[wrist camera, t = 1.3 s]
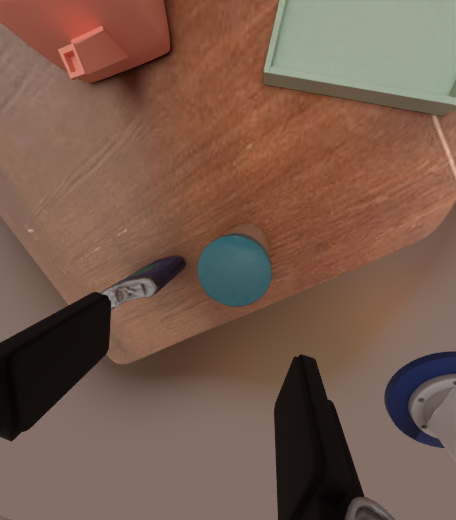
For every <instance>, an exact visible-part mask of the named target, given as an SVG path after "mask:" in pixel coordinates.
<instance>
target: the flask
mask: <svg viewBox="0 0 456 520" xmlns="http://www.w3.org/2000/svg"><path fill="white" fill-rule="evenodd" d="M185 265H186V263H185V260H184V259H183V258H182V257H181V256H171V257H166V258H162V259H160V260H157V261H155V262H154V263H152V264H149V265H147V266H145V267H144V268H142V269H140V270H139V271H137V272H135V273H134V274H132V275H130V276H128V277H127V278H125V279H123V280H121V281H119V282H118V283H116V284H114V285H112V286H110V287H109V288H107V289H106V290H104V291H103V292H101V294H104V295H107V296H108V297H109V300H111V310H112V309H114V308H115V307H116V308H117V307H118V305H119V304H122V303H124V302H127V301H130V300H133V299H137V298H143V297H151V296H153V295H155V294H156V293H157V292H158V291H159V290H161V288H163V287H164V286H165V285H166V284H167V283H168V282H169V281H170V280H171V279H173V278H174V277H175V276H176V275H177V274H178V273H179V272H180V271H182V270H183V269H184V268H185Z"/></svg>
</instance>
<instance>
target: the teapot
mask: <svg viewBox="0 0 456 520" xmlns="http://www.w3.org/2000/svg"><path fill="white" fill-rule="evenodd" d="M0 22H1V23H2V24H3V25H4V26H6V27H7V28H8V29H9V30H11V31H12V32H13V33H14V34H16V35H17V36H18V37H19V38H21V39H22V40H23V41H24V42H26V43H27V44H28V45H29V46H31V47H32V48H33V49H35V50H36V51H37V52H39V53H40V54H41V55H43V56H44V57H45V58H47V59H48V60H50V61H51V62H52V63H54V64H55V65H57V66H58V67H60V68H61V69H63V70H64V71H66V72H67V73H68V74H69V76H70V78H71V79H73V80H75V79H77V78H78V79H80V80H83V81H85V82H88V83H91V82H95V81H99V80H102V79H104V78H107V77H110V76H113V75H116V74H118V73H121V72H124V71H126V70H129V69H131V68H134V67H136V66H139V65H141V64H143V63H146V62H148V61H151V60H153V59H155V58H158V57H160V56H162V55H164V54H166V53H167V52H169V50H170V36H169V29H168V22H167V16H166V10H165V4H164V0H0Z"/></svg>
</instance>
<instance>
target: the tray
mask: <svg viewBox="0 0 456 520" xmlns="http://www.w3.org/2000/svg"><path fill="white" fill-rule="evenodd" d="M263 74H264V84H266V85H272V86H277V87H283V88H288V89H294V90H300V91H305V92H311V93H316V94H322V95H328V96H333V97H339V98H344V99H350V100H356V101H361V102H367V103H372V104H378V105H384V106H389V107H395V108H401V109H406V110H412V111H417V112H423V113H429V114H434V115H440V116H444V115H446V114H448V113H450V112H453V111H455V110H456V0H279V4H278V9H277V13H276V18H275V22H274V27H273V31H272V36H271V40H270V44H269V49H268V53H267V58H266V62H265V67H264V71H263Z"/></svg>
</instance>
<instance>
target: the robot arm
mask: <svg viewBox="0 0 456 520" xmlns="http://www.w3.org/2000/svg"><path fill="white" fill-rule="evenodd" d="M110 318H111V300H109V297H108V296H107V295H104V294H101V293H97V292H93V293H91V294H89V295H87V296H85V297H84V298H82V299H80V300H78V301H76V302H74V303H73V304H71V305H69V306H67V307H65V308H64V309H62V310H60V311H58V312H56V313H54V314H52V315H51V316H49V317H47V318H45V319H43V320H41V321H39V322H38V323H36V324H34V325H32V326H30V327H28V328H27V329H25V330H23V331H21V332H19V333H17V334H16V335H14V336H12V337H10V338H9V339H6V340H5V341H3V342H1V343H0V437H2V438H4V439H7V440H9V441H13V440H14V439H15V438H16V437H17V436H18V435H19V434H20V433H21V432H24V431H27V430H28V429H30V428H31V427H32V426H33V425H34V424H35V423H36V422H37V421H38V420H39V419H40V418H41V417H42V416H43V415H44V414H45V413H46V412H47V411H48V410H49V409H51V408H52V406H54V405H55V404H56V403H57V401H59V400H60V399H61V398H62V397H63V396H64V395H65V394H66V393H67V392H68V391H69V390H70V389H71V388H72V387H73V386H74V385H75V384H76V383H77V382H78V381H79V380H80V379H81V378H82V377H83V376H84V375H85V374H86V373H87V372H88V371H90V369H92V367H94V365H96V364H97V363H98V362H99V361H100V360H101V359H102V358H103V357H104V356H105V355H106V353H107V351H108V349H109V337H110ZM408 409H409V413H410V416H411V418H412V419H413V421H414V422H415V424H416V425H417V426H418V427H419V428H420V429H421V430H422V431H423V432H425V433H426V434H428V435H430V436H432V437H435V438H438V439H439V440H440V442H441V443H442V445H443V446H444V447H445V449H446V450H447V452H448V453H449V454H450V456H451V457H452V458H453V460H454V461H455V463H456V374H446V375H441V376H437V377H434V378H432V379H429V380H427V381H426V382H424V383H422V384H421V385H420V386H418V387H417V388H416V389H415V390H414V392H413V393H412V394H411V397H410V399H409V403H408ZM274 421H275V448H276V473H277V474H276V475H277V503H278V520H395V519H394V518H393V517H392V516H391V515H390V514H389V513H388V512H387V510H385V509H384V508H383V507H382V506H380V505H379V504H378V503H377V502H375V501H373V500H371V499H369V498H366V497H364V494H363V491H362V488H361V485H360V482H359V479H358V476H357V472H356V470H355V467H354V463H353V460H352V457H351V454H350V451H349V448H348V445H347V442H346V439H345V436H344V433H343V430H342V427H341V424H340V421H339V418H338V415H337V412H336V409H335V406H334V404H333V402H332V401H330V400H328V399H327V396H326V392H325V389H324V386H323V383H322V379H321V376H320V373H319V369H318V366H317V363H316V360H315V359H314V358H311V357H308V356H305V355H299V357H294V358H293V360H292V363H291V365H290V368H289V370H288V373H287V375H286V378H285V380H284V383H283V386H282V388H281V390H280V393H279V396H278V398H277V401H276V403H275V408H274ZM0 520H9V519H7V518H5V517H3V516H1V515H0Z"/></svg>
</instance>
